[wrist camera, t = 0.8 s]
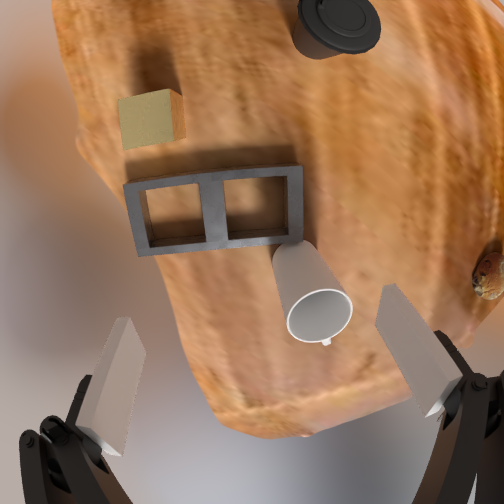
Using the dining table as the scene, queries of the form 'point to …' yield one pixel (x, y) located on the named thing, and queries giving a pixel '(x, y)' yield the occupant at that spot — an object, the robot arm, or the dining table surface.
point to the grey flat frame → (215, 210)
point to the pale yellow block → (151, 118)
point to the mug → (309, 293)
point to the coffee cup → (335, 27)
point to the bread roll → (489, 276)
